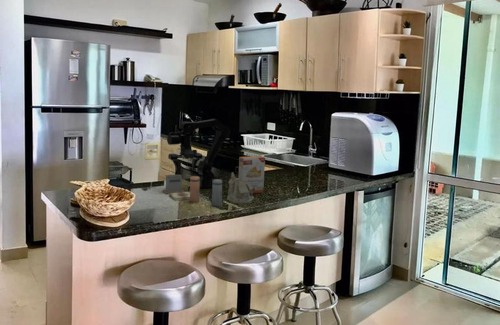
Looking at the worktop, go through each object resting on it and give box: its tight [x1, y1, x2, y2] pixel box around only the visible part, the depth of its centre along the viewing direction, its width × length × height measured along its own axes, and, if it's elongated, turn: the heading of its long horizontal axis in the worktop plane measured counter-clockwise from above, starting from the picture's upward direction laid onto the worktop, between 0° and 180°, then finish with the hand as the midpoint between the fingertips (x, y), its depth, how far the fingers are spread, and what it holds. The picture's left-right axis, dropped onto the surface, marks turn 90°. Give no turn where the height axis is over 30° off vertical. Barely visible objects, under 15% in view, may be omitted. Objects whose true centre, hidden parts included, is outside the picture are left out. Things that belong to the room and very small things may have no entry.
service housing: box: [162, 174, 186, 195], centre depth 254 cm, size 11×7×10 cm, turn 117°
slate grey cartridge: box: [211, 178, 223, 207], centre depth 229 cm, size 5×5×13 cm
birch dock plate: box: [168, 191, 190, 202], centre depth 243 cm, size 12×11×2 cm
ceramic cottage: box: [226, 172, 255, 205], centre depth 243 cm, size 16×16×15 cm
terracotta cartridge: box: [189, 175, 201, 204], centre depth 235 cm, size 5×5×13 cm
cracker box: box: [237, 155, 266, 195], centre depth 258 cm, size 14×6×21 cm, turn 117°
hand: (185, 171), depth 260 cm, fingers open, 9 cm apart
